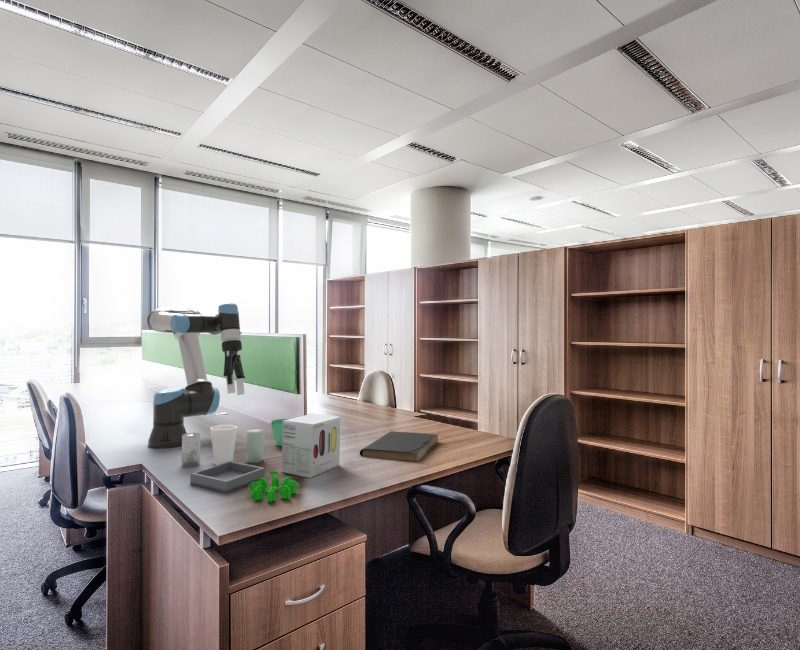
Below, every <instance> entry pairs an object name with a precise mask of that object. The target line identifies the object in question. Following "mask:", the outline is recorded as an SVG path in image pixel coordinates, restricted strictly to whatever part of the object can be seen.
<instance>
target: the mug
mask: <svg viewBox="0 0 800 650" xmlns="http://www.w3.org/2000/svg"><path fill="white" fill-rule="evenodd" d="M288 419H289V418H278V419H272V420H271V422H270V424H271V429H272V433H273V434H272V435H273V438H274V441H275V444H276V446H277V447H279V446H280V447H282V442H283V421H284V420H288Z"/></svg>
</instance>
